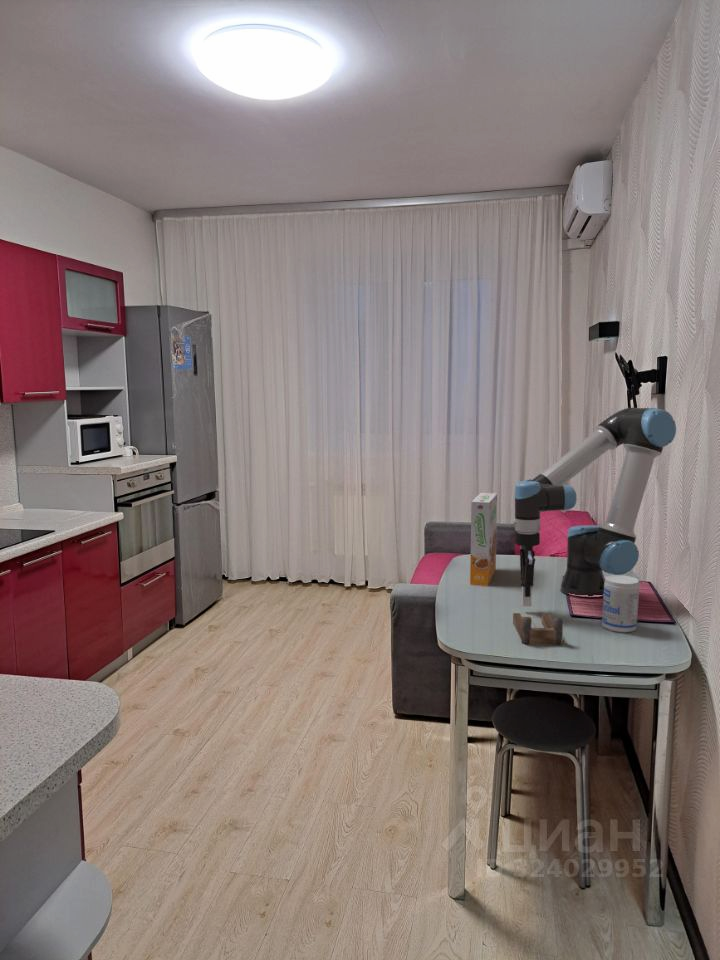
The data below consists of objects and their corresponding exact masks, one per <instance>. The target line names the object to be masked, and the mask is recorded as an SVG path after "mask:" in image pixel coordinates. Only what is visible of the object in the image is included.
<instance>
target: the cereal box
mask: <svg viewBox="0 0 720 960" xmlns="http://www.w3.org/2000/svg"><path fill="white" fill-rule="evenodd" d="M470 511H471V514H470V562H469V563H470V566H469V567H470V570H469V571H470V572H469V573H470V575H469V576H470V577H469V579H470V581H469V585H470V584H471V585H473V586H484V587H488V586H489V585H490V582H491V580H492V579H491V578H493V577H492V576H494V575H495V573H496V571H495V570H496V569H497V567H496V566H497V527H498V526H497V525H498V524H497V523H498V522H497V519H498V517H497V516H498V493H496V492H480V493H479V494H478V495H477V496H475V498H474V499H473V500H472V501H471V509H470ZM494 572H495V573H494ZM493 574H494V575H493Z"/></svg>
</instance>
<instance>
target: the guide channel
mask: <svg viewBox="0 0 720 960" xmlns="http://www.w3.org/2000/svg"><path fill="white" fill-rule="evenodd" d="M522 617H523V618H522ZM530 617H531V616H530ZM530 617H524V616H522V614H521V613H519V612H514V613H513V614H512V624H513V626H514V629H515V630H516V632H517V634H518V637H519V638H520V641H521V644H522V645H547V646H549V645H551V646H552V645H553V646H554V645H555V646H556V645H557V646H561V645H562V646H563V634H564V633H563V630H564V629H563V627H564V626H563V625H564V618H563V617H560V616H559V617H558V616H556V617H553V618H552V616H551V615H550V613H541V625H542V626H543V627H536V628H531V620H532V617H531V618H530Z"/></svg>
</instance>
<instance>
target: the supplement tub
mask: <svg viewBox="0 0 720 960" xmlns="http://www.w3.org/2000/svg"><path fill="white" fill-rule="evenodd" d="M604 578H605V583H604V595H603V597H602V612H601V613H602V615H601V626H602V627H603V628H605V629H606V630H609V631H611V632H617V633H631V632H634V631H636V629H637V624H638V623H637V622H638V614H639V613H638V610H639V600H640V599H639V597H640V596H639V595H640V580H639V579H638V578H636V577H633V576H630V575H625V574H622V575H614V574H610V575H609V574H608V575H606V576H604Z"/></svg>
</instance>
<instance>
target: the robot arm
mask: <svg viewBox="0 0 720 960" xmlns="http://www.w3.org/2000/svg"><path fill="white" fill-rule="evenodd" d="M676 433H677V425H676V421H675V420H674V417H673V416H672V414H671V413H670V412H668V411H667V410H665V409H661V408H655V407H650V408H649V407H627V408H623V409H621V410H618V411H617V412H615V413H614V414H611V415H610V416H608V417H607V418H605V419H604V420H603V421H601V422H600V423H599V424H598V425H595V427H594V429H593V432H592V433H591V434H590V435H589V436H587V437H586V438H585V439H583V440H582V441H581V442H579V443H578V444H577V445H575V446H573V448H572V449H570V450H568V452H566V453H565V454H564V455H562V456H561V457H559V458H558V459H557V460H556V461H555V462H553V464H552V463H551V465H549V466H548V467H547V468H546V469H544V471H543V470H542V472H541V473H539V474H537V475H536V477H534V478H533V479H530V478H529V479H525V480H522V481H518V482H517V483H516V484H515V488H514V520H513V521H512V524H513V525H514V530H515V532H514V544H515V545H516V546H519V547H521V549H519V550H518V552H519V564H520V565H519V567H520V569H519V570H520V581H521V584H520V587H521V606H522V607H532V594H533V593H532V590H533V589H532V587H534V578H535V577H534V575H535V574H534V573H535V563H536V558H535V555H536V554H535V553H536V552H535V550H534V549H533V547H535V546H536V547H537V546H539V545H540V543H541V541H540V538H541V537H540V536H541V534H540V531H541V512H543V513H544V512H552V511H553V512H555V511H565V510H571V509H573V508H574V507H575V506H576V504H577V493H576V490H575V488H574V487H573V486H571V485H565V484H566V483H567V482H569V481H570V480H571V479H572V478H574V477H575V476H577V475H578V474H579V473H580V472H582V471H583V470H584V469H585V468H587V467H588V466H590V465H591V464H592V463H594V462H595V461H597V459H598V458H600V457H601V456H603V454H605V453H607V452H608V451H609V450H610V451H611V450H612V451H613V450H615V449H616V448H618V447H619V446H621V445H623V447H624V449H625V450H626V452H625V457H624V459H623V463H622V467H621V470H620V474H619V476H618V480H617V483H616V486H615V489H614V493H613V495H612V496H613V497H612V500H611V503H610V505H609V506H610V507H609V510H608V513H607V517H606V521H605V522H604V523H603V524H601V525H595V524H594V525H587V524H586V525H573V526H571V527H569V528H568V531H567V548H566V549H567V550H566V551H567V552H566V554H567V555H566V569H565V572H564V575H563V578H562V580H561V582H560V592H562V593H563V594H565V595H567V593H570V594H575V595H588V596H593V595H603V594H604V583H605V575H604V573H608V574H610V575H625V574H627V573H628V572H631V571H632V570H633V569H634V568H635V566H636V565H637V563H638V561H639V557H640V554H639V552H640V551H639V550H638V546H637V545H636V544H635V543H636V540H637V535H636V533H635V532H634V529H635V526H636V522H637V518H638V516H639V515H638V514H639V511H640V508H641V505H642V501H643V499H644V495H645V491H646V489H647V485H648V481H649V478H650V474H651V471H652V468H653V465H654V462H655V459H656V458H658V457H659V456H661V455H662V452H663V449H664V447H666V446H669V444H671V443H672V442H673V441H674V439H675V437H676Z"/></svg>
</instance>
